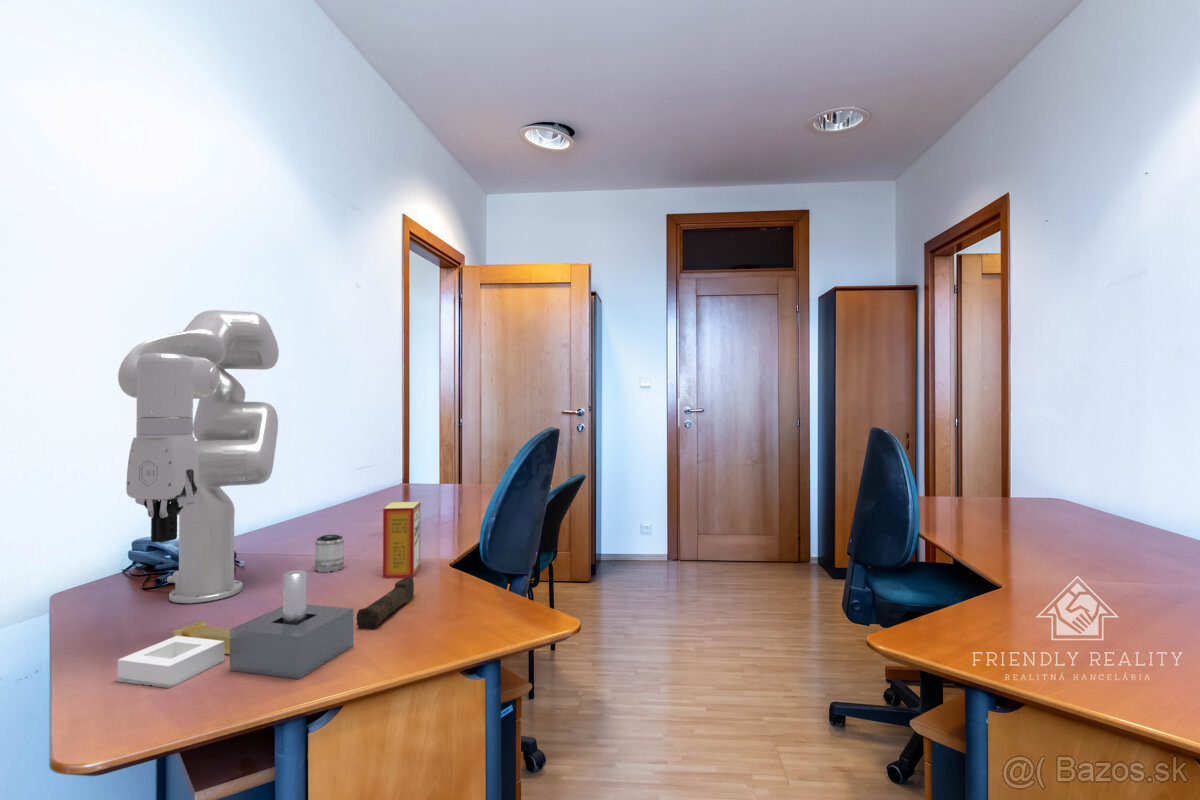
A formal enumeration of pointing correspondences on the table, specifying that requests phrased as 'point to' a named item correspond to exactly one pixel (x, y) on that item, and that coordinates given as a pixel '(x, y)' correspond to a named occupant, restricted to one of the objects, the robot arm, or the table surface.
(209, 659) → the tray
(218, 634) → the key
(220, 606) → the table surface
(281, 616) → the socket
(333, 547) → the camera lens
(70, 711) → the table surface
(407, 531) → the baking soda box
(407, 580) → the hand tool
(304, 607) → the grey cylindrical peg
